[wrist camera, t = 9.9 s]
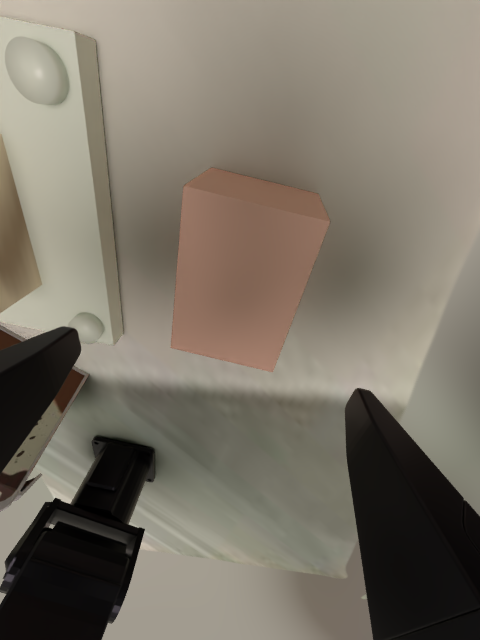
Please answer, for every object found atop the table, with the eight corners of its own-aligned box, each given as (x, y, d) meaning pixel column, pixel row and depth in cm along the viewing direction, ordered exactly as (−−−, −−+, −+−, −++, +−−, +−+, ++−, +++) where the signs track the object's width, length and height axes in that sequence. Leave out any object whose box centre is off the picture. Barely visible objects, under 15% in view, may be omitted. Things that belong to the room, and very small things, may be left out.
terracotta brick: (275, 318, 19) (272, 372, 15) (195, 299, 19) (170, 347, 15) (317, 193, 15) (330, 222, 11) (211, 166, 15) (183, 185, 10)
